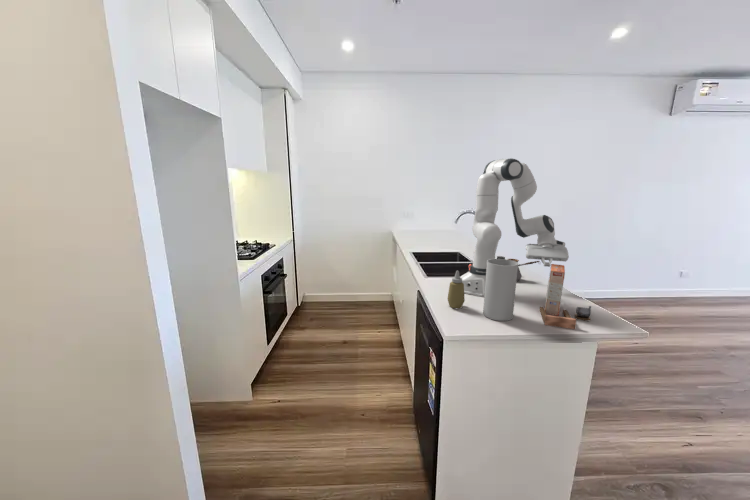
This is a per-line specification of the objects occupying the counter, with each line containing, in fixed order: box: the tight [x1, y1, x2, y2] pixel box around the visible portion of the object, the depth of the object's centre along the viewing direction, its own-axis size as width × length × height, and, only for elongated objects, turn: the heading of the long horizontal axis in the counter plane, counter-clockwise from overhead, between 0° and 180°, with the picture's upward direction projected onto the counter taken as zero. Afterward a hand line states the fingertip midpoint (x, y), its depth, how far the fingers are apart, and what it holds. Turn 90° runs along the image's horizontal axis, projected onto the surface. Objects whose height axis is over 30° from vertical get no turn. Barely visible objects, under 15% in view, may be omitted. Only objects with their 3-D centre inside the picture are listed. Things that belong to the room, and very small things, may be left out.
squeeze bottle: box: [447, 270, 466, 309], centre depth 146 cm, size 8×8×18 cm
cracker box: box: [544, 263, 566, 317], centre depth 141 cm, size 14×6×21 cm, turn 149°
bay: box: [539, 306, 577, 330], centre depth 133 cm, size 11×16×4 cm
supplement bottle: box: [496, 255, 506, 259], centre depth 199 cm, size 7×7×12 cm
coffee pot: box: [506, 258, 541, 282], centre depth 184 cm, size 21×12×15 cm, turn 42°
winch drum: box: [573, 305, 592, 322], centre depth 133 cm, size 6×4×6 cm
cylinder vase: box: [482, 258, 519, 322], centre depth 135 cm, size 12×12×25 cm
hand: (547, 266), depth 162 cm, fingers closed
